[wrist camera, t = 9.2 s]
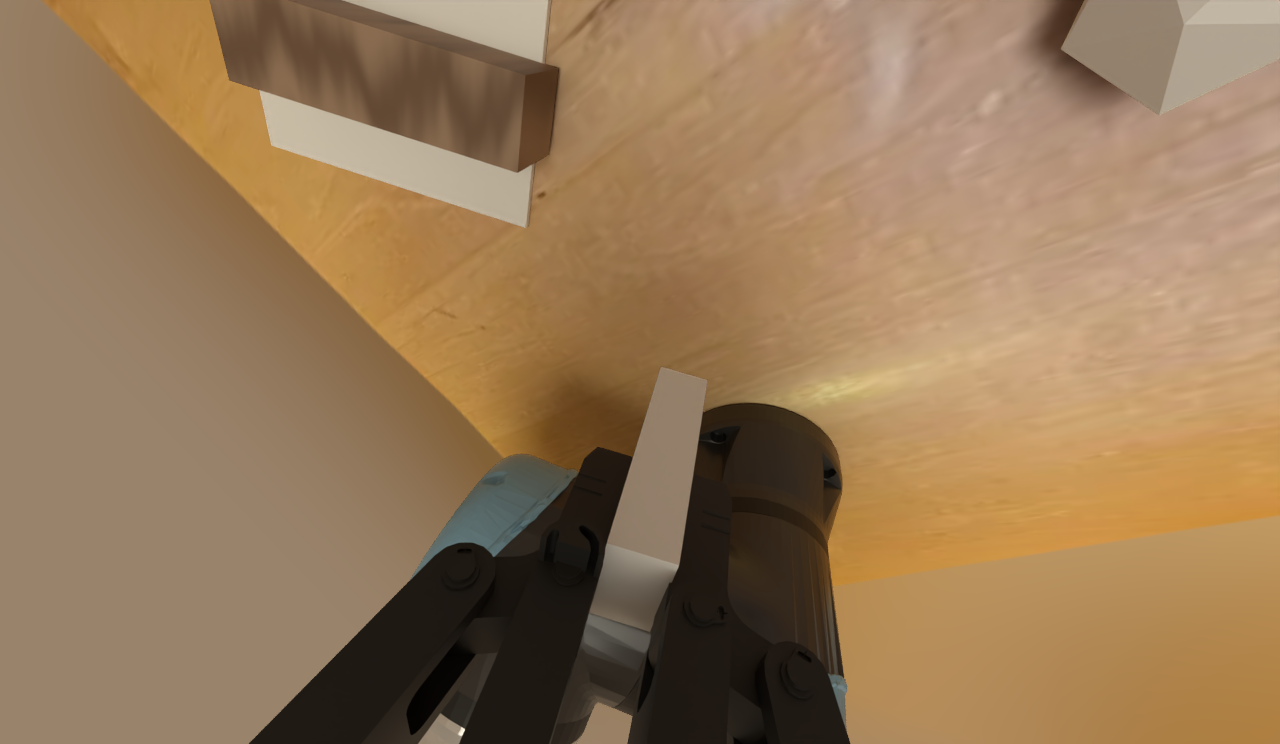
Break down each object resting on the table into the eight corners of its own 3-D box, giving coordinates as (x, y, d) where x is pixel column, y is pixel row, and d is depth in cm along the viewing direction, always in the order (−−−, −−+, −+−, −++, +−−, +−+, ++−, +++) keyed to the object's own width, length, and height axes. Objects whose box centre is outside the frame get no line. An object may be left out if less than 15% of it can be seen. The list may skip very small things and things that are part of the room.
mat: (528, 225, 36) (525, 228, 35) (276, 144, 36) (271, 145, 36) (556, -55, 26) (553, -56, 26) (213, -161, 27) (204, -164, 26)
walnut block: (517, 172, 28) (229, 80, 29) (548, 154, 32) (295, 73, 33) (525, 75, 25) (203, -27, 26) (558, 68, 29) (279, -20, 30)
